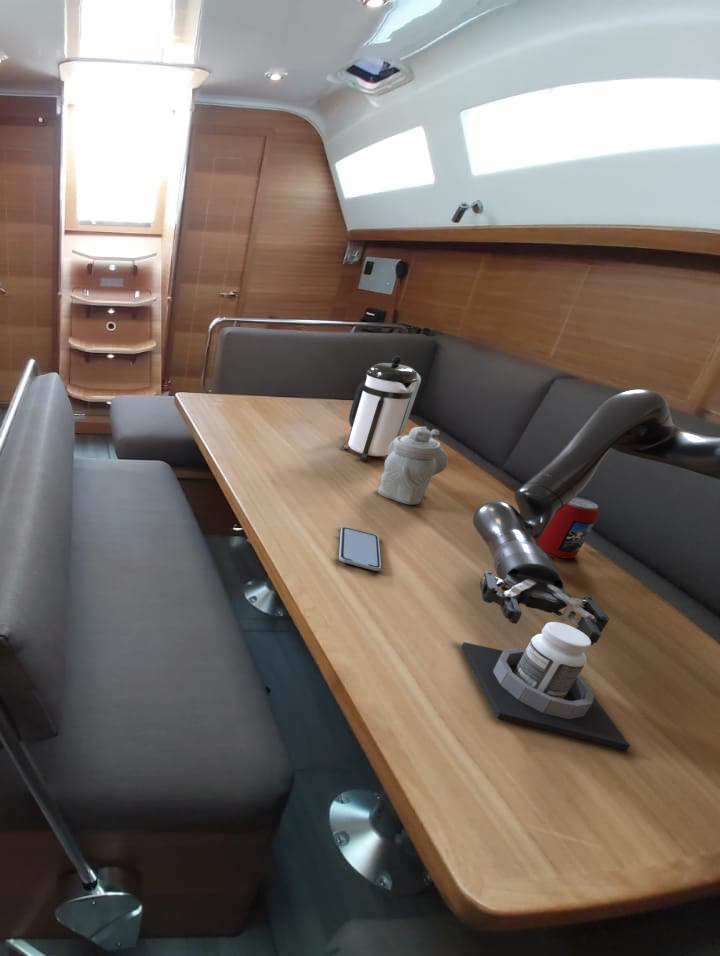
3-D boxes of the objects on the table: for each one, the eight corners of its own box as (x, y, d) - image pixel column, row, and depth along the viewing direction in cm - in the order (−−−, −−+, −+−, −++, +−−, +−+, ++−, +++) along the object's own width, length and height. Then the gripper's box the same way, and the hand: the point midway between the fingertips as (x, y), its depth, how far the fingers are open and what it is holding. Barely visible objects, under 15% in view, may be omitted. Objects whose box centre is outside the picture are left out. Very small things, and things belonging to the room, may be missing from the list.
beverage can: (569, 564, 101) (598, 513, 96) (528, 549, 106) (554, 499, 101) (578, 554, 105) (606, 504, 100) (538, 539, 110) (563, 491, 104)
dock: (568, 670, 75) (578, 653, 74) (626, 750, 63) (641, 732, 61) (461, 646, 79) (469, 629, 77) (497, 718, 67) (507, 699, 65)
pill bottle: (559, 683, 71) (592, 630, 67) (566, 710, 67) (602, 655, 63) (509, 665, 74) (538, 613, 70) (513, 690, 70) (544, 636, 66)
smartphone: (378, 535, 108) (381, 569, 95) (377, 538, 108) (379, 573, 96) (341, 525, 110) (339, 558, 98) (340, 529, 111) (338, 562, 99)
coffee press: (401, 454, 154) (435, 356, 141) (387, 468, 143) (422, 364, 130) (343, 439, 164) (369, 347, 151) (325, 451, 154) (352, 353, 141)
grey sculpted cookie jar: (412, 480, 136) (435, 414, 128) (454, 506, 123) (484, 435, 115) (355, 480, 135) (376, 414, 126) (392, 507, 121) (418, 435, 113)
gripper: (568, 602, 82) (605, 667, 69) (465, 575, 88) (482, 631, 75) (590, 565, 79) (633, 626, 66) (482, 539, 85) (502, 591, 72)
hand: (552, 628), depth 71 cm, fingers open, 8 cm apart
